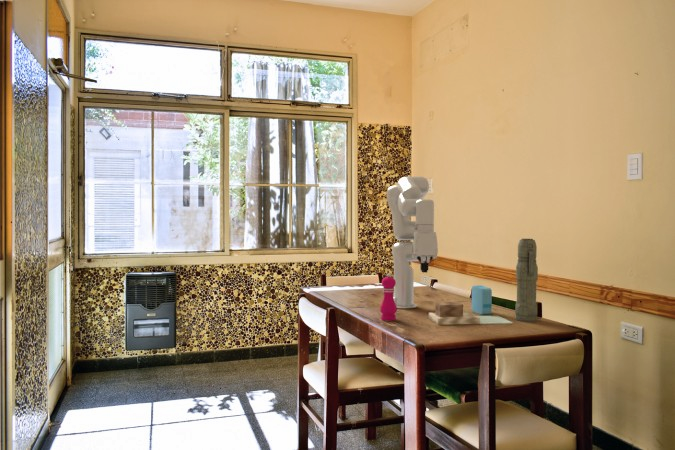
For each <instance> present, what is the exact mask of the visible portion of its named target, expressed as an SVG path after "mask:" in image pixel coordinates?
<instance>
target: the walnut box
mask: <svg viewBox="0 0 675 450" xmlns="http://www.w3.org/2000/svg"><path fill="white" fill-rule="evenodd" d="M434 305H435V313H436V315H438V316H439V317H460V316H463V312H464V304H463V303H461V302H459V301H454V302H453V301H449V302H447V301H446V302H445V301H443V302H435V304H434Z"/></svg>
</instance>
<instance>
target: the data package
mask: <svg viewBox="0 0 675 450" xmlns="http://www.w3.org/2000/svg"><path fill="white" fill-rule="evenodd" d="M492 291H493V290H492V288H491V287H487V286H484V285H472V287H471V311H472V312H474V313H477V314H479V315H480V316H491V314H492V309H493V308H492V303H493V302H492V299H493V298H492V297H493V294H492V293H493V292H492Z"/></svg>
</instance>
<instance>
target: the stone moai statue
mask: <svg viewBox="0 0 675 450" xmlns="http://www.w3.org/2000/svg"><path fill="white" fill-rule="evenodd" d="M537 246H538V245H537V243H536V240H535V239H533V238H521V239H519V241H518V244H517V263H516V266H515V279H516V302H515V304H514V305H515V308H514V309H515V310H514V311H515V312H514V314H515V321H518V322H521V323H522V322H523V323H524V322H525V323H535V322H537V321H538V319H537V316H538V303H537V281H538V280H539V279H538V278H539V276H538V275H539V274H538V273H539V269H538V264H537V251H538V250H537Z"/></svg>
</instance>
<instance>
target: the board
mask: <svg viewBox="0 0 675 450" xmlns="http://www.w3.org/2000/svg"><path fill="white" fill-rule="evenodd" d="M477 316H478V315H475V314H473V313H471V312H469V311H463V316H460V317H439V316H438V315H436V312H428V319H429V320H430V321H432V322H433V323H435V324H436V325H438V326H440V325H442V326H443V325H446V326H447V325H481V324H480V318H479V317H477Z"/></svg>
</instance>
